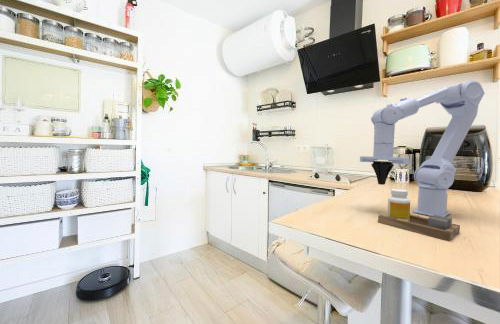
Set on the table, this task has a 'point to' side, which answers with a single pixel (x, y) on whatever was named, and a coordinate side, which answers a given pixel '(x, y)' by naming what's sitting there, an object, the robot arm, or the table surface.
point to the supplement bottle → (399, 205)
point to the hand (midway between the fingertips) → (381, 184)
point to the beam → (425, 225)
